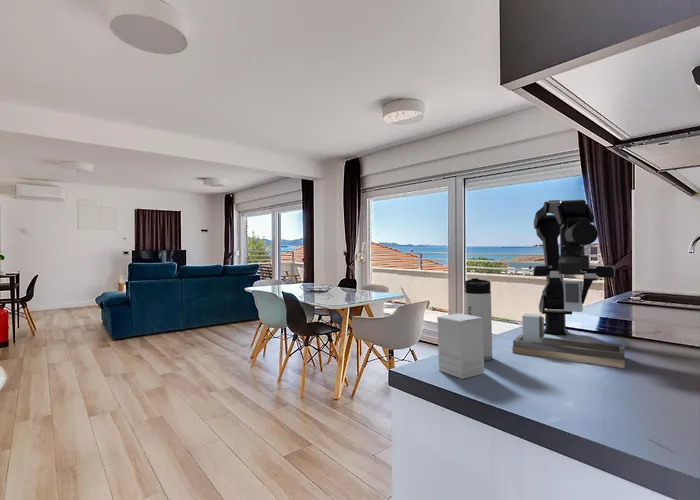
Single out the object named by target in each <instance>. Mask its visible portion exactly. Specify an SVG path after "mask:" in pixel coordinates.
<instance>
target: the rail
mask: <svg viewBox="0 0 700 500" xmlns="http://www.w3.org/2000/svg"><path fill="white" fill-rule="evenodd" d="M511 350H512V353H513V354H519V355H527V356H534V357H542V358H549V359H556V360H562V361H570V362H578V363H586V364H592V365H598V366H599V365H601V366H606V367H613V368H614V367H615V368H621V369H625V367H626V366H625V365H626V363H625V359H626V358H625V356H626V355H625V345H620V344H609V343H601V342H591V341H583V340H572V339H563V338H555V337H545V336H543V338H542V343H535V342H527V341H523V334H519V335H517V336H516V338H514V339H513V340H512V349H511Z"/></svg>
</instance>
